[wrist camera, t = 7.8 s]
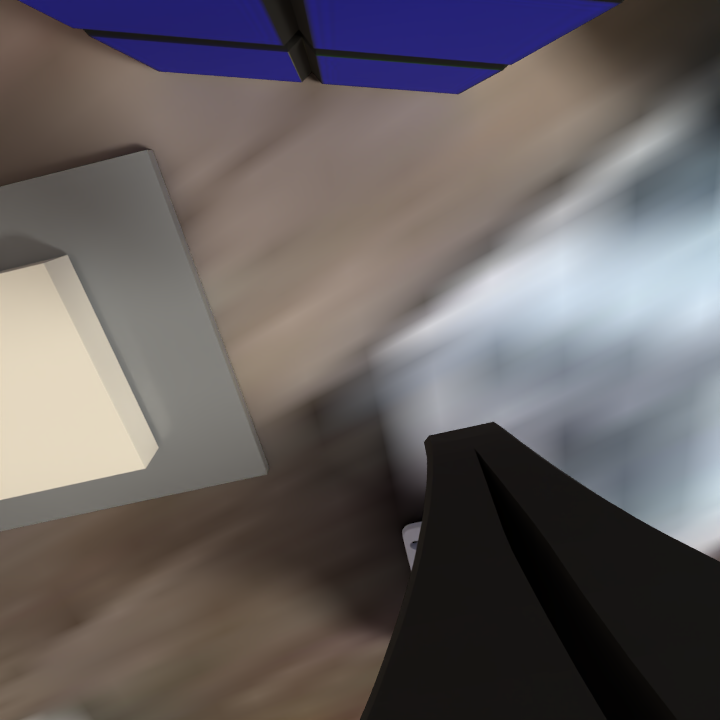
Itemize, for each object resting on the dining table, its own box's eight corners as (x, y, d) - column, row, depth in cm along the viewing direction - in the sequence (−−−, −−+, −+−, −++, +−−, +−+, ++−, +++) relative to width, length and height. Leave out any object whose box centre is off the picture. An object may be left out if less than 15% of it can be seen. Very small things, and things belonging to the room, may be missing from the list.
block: (145, 468, 18) (-3, 500, 18) (160, 444, 19) (23, 474, 19) (43, 263, 15) (-134, 306, 15) (70, 253, 16) (-92, 293, 16)
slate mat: (269, 467, 20) (267, 474, 20) (-30, 531, 21) (-38, 539, 21) (152, 150, 15) (146, 149, 15) (-237, 247, 16) (-254, 250, 15)
